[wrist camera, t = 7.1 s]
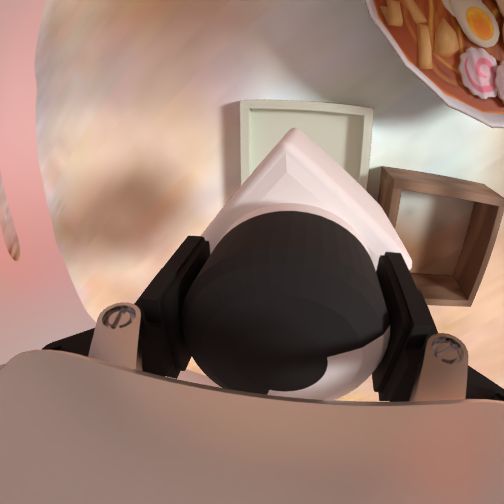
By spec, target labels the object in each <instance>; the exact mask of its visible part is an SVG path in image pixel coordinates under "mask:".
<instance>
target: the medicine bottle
mask: <svg viewBox="0 0 504 504" xmlns="http://www.w3.org/2000/svg"><path fill="white" fill-rule="evenodd" d="M201 237H204V238H205V241H209V244H210V256H209V258H208V259H207V261H206V263H205V264H204V266H203V267H202V269H201V271H200V272H199V274H198V276H197V277H196V279H195V280H194V282H193V284H192V285H191V287H190V289H189V291H188V293H187V294H186V296H185V299H184V302H183V305H182V310H181V327H182V333H183V337H184V340H185V343H186V345H187V347H188V350H189V352H190V353H191V355H192V357H193V359H194V360H195V362H196V363H197V365H198V366H199V367H200V369H201V370H202V371H203V372H204V373H205V374H206V375H207V376H208V377H209V378H210V379H211V380H212V381H214V382H215V383H216V384H218V385H219V386H220V387H222V388H224V389H231V390H237V391H244V392H251V393H258V394H266V395H274V396H283V397H293V398H304V399H317V400H335V399H338V398H340V397H342V396H344V395H346V394H348V393H350V392H351V391H353V390H354V389H356V388H357V387H358V386H359V385H361V384H362V383H363V382H364V381H365V380H366V379H367V378H368V377H369V376H370V375H371V374H372V373H373V371H374V370H375V369H376V368H377V367H378V365H379V364H380V362H381V360H382V359H383V357H384V354H385V352H386V349H387V346H388V343H389V339H390V321H389V316H388V311H387V308H386V304H385V300H384V297H383V293H382V290H381V287H380V283H379V280H378V277H377V274H376V270H377V265H378V261H379V257H380V255H384V254H385V252H395V253H401V254H402V256H403V258H404V260H405V263H406V265H407V267H408V269H409V270H410V269H411V268H412V260H411V258H410V256H409V254H408V252H407V250H406V249H405V247H404V245H403V243H402V241H401V240H400V238H399V236H398V234H397V233H396V231H395V229H394V227H393V226H392V224H391V222H390V221H389V219H388V217H387V216H386V214H385V212H384V211H383V209H382V207H381V206H380V205H379V204H378V203H377V202H376V201H375V200H374V199H373V197H372V196H371V195H370V194H369V193H368V192H367V191H366V190H365V189H364V188H363V187H362V186H361V185H360V184H359V183H358V182H357V181H356V180H355V179H354V178H352V177H351V176H350V175H349V174H348V173H347V172H346V171H345V170H344V169H343V168H342V167H341V166H340V165H339V164H338V163H337V162H336V161H335V160H334V159H332V158H331V157H330V156H329V155H328V154H327V153H326V152H325V151H324V150H323V149H321V148H320V147H319V146H318V145H317V144H316V143H315V142H314V141H312V140H311V139H310V138H309V137H308V136H307V135H306V134H304V133H303V132H302V131H301V130H300V129H298V128H292V129H290V130H289V131H288V132H287V133H286V134H285V136H284V137H283V138H282V139H281V140H280V141H279V142H278V143H277V145H276V146H275V147H274V148H273V149H272V150H271V151H270V153H269V154H268V155H267V156H266V157H265V158H264V160H263V161H262V162H261V163H260V164H259V165H258V166H257V168H256V169H255V170H254V171H253V172H252V174H251V175H250V176H249V177H248V178H247V179H246V181H245V182H244V183H243V184H242V185H241V187H240V188H239V189H238V190H237V191H236V193H235V194H234V195H233V196H232V197H231V199H230V200H229V201H228V202H227V203H226V205H225V206H224V207H223V208H222V209H221V211H220V212H219V213H218V214H217V216H216V217H215V218H214V220H213V221H212V222H211V223H210V225H209V226H208V227H207V228H206V230H205V231H204V232H203V234H202V235H201Z"/></svg>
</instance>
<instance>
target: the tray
mask: <svg viewBox="0 0 504 504" xmlns="http://www.w3.org/2000/svg"><path fill="white" fill-rule="evenodd" d="M373 110H374V108H370V107H362V106H354V105H345V104H335V103H323V102H309V101H290V100H240V146H241V185H242V184H243V183H244V182H245V181H246V179H247V178H248V177H249V176H250V175H251V174H252V172H253V171H254V170H255V169H256V168H257V166H258V165H259V164H260V163H261V162H262V161H263V160H264V158H265V157H266V156H267V155H268V154H269V153H270V151H271V150H272V149H273V148H274V147H275V146H276V145H277V143H278V142H279V141H280V140H281V139H282V138H283V137H284V136H285V134H286V133H287V132H288V131H289V130H290V129H292V128H298V129H300V130H301V131H302V132H303V133H304V134H306V135H307V136H308V137H309V138H310V139H311V140H312V141H314V142H315V143H316V144H317V145H318V146H319V147H320V148H321V149H323V150H324V151H325V152H326V153H327V154H328V155H329V156H330V157H331V158H332V159H334V160H335V161H336V162H337V163H338V164H339V165H340V166H341V167H342V168H343V169H344V170H345V171H346V172H347V173H348V174H349V175H350V176H351V177H352V178H354V179H355V180H356V181H357V182H358V183H359V184H360V185H361V186H362V187H363V188H364V189H365V190H366V189H367V181H368V172H369V162H370V152H371V140H372V127H373Z"/></svg>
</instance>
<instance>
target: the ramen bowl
mask: <svg viewBox="0 0 504 504" xmlns="http://www.w3.org/2000/svg"><path fill="white" fill-rule="evenodd" d="M365 1H366V5H367V8H368V11H369V15H370V17H371V18H372V19H373V21H374V22H375V23H376V25H377V26H378V27H379V29H380V30H381V31H382V33H383V34H384V35H385V37H386V38H387V40H388V41H389V43H390V44H391V45H392V47H393V48H394V50H395V51H396V53H397V54H398V56H399V57H400V59H401V60H402V62H403V64H404V65H405V66H406V67H407V68H408V69H409V70H410V71H411V72H413V73H414V74H415V75H416V76H417V77H418V78H419V79H421V80H422V81H423V82H424V83H425V84H426V85H427V86H428V87H429V88H430V89H431V90H432V91H433V92H434V93H436V94H437V95H438V96H439V97H440V98H441V99H442V100H443V101H444V102H445V103H446V104H447V105H448V106H449V107H451V108H453V109H455V110H458V111H460V112H462V113H464V114H466V115H468V116H470V117H472V118H474V119H476V120H478V121H480V122H482V123H484V124H486V125H488V126H490V127H491V128H504V0H365Z"/></svg>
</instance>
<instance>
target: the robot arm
mask: <svg viewBox="0 0 504 504" xmlns="http://www.w3.org/2000/svg"><path fill="white" fill-rule="evenodd" d="M209 256H210V244H209V241H205V238H204V237H201V236H188V237H187V238H186V239H185V241H184V242H183V243H182V244H181V246H180V247H179V248H178V249H177V251H176V252H175V253H174V254H173V256H172V257H171V258H170V259H169V261H168V262H167V263H166V264H165V266H164V267H163V268H162V269H161V270H160V271H159V273H158V274H157V275H156V276H155V278H154V279H153V280H152V282H151V283H150V284H149V285H148V287H147V288H146V289H145V291H144V292H143V293H142V295H141V296H140V297H139V299H138V300H137V301H136V303H135V304H131V303H116V304H113V305H111V306H109V307H107V308H106V309H104V310H103V311H102V312H101V313H100V315H99V317H98V319H97V323H96V327H95V328H93V329H90V330H87V331H84V332H82V333H79V334H76V335H73V336H70V337H67V338H64V339H61V340H58V341H55V342H52V343H50V344H48V345H46V346H45V347H44V348H42V350H32V351H26V352H22V353H20V354H18V355H16V356H14V357H13V358H12V359H11V360H9V361H8V362H7V363H6V364H3V365H0V504H504V389H503V388H501V387H500V386H498V385H497V384H495V383H494V382H492V381H491V380H489V379H488V378H486V377H485V376H483V375H482V374H480V373H479V372H477V371H476V370H474V369H473V368H471V367H470V366H468V351H467V349H466V347H465V345H464V344H463V343H462V342H461V340H459V339H458V338H456V337H454V336H452V335H450V334H445V333H438V331H437V329H436V326H435V324H434V321H433V319H432V316H431V314H430V311H429V309H428V306H427V304H426V302H425V299H424V297H423V295H422V292H421V291H420V290H419V289H417V287H416V285H415V282H414V280H413V278H412V276H411V273H410V271H409V269H408V267H407V265H406V263H405V260H404V258H403V256H402V254H401V253H395V252H385V254H384V255H380V257H379V261H378V265H377V270H376V274H377V277H378V280H379V283H380V287H381V290H382V293H383V297H384V300H385V304H386V308H387V311H388V316H389V321H390V339H389V343H388V346H387V349H386V352H385V354H384V357H383V359H382V360H381V362H380V364H379V365H378V367H377V368H376V369H375V370H374V371H373V373H372V379H373V388H374V391H375V392H378V393H379V401H390V402H357V401H333V400H317V399H304V398H293V397H283V396H274V395H266V394H258V393H251V392H244V391H237V390H231V389H224V388H219V387H213V386H207V385H201V384H197V383H192V382H187V381H182V380H177V377H178V375H179V373H180V371H185V370H186V368H187V365H188V363H189V361H190V359H191V356H192V355H191V353H190V352H189V350H188V347H187V345H186V343H185V340H184V337H183V333H182V327H181V310H182V305H183V302H184V299H185V296H186V294H187V293H188V291H189V289H190V287H191V285H192V284H193V282H194V280H195V279H196V277H197V276H198V274H199V272H200V271H201V269H202V267H203V266H204V264H205V263H206V261H207V259H208V258H209ZM165 376H167V377H165ZM168 377H172V378H168ZM173 378H176V379H173Z"/></svg>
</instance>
